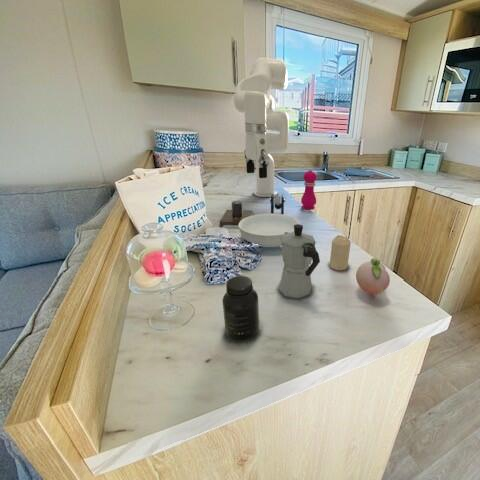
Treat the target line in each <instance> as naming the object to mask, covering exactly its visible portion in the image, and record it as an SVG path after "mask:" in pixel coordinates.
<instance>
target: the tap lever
mask: <svg viewBox="0 0 480 480" xmlns="http://www.w3.org/2000/svg"><path fill="white" fill-rule="evenodd" d="M274 209H276V210H281V196H278V195H276V196H274Z"/></svg>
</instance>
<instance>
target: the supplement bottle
mask: <svg viewBox="0 0 480 480" xmlns="http://www.w3.org/2000/svg"><path fill="white" fill-rule="evenodd" d="M225 286H226V292H225V293H224V294H223V297H222V310H223V311H222V312H223V317H224V318H223V319H224V320H223V321H224V329H225V334H226V335H227V337H228V338H230V339H231V340H233V341H237V342H243V341H247V340H250V339H251V338H253V337H255V336H256V334H257V333H258V332H259V329H260V310H259V309H260V308H259V294H258V292H257V291H256V290H255V289H254V285H253V280H252V278H250V277H249V276H246V275H237V276H234V277H231V278H229V279H228V280H227V281H226V285H225Z"/></svg>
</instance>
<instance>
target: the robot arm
mask: <svg viewBox="0 0 480 480" xmlns="http://www.w3.org/2000/svg"><path fill="white" fill-rule="evenodd" d="M249 74H250V75H249V76H247V77H245V78H243V79H242V80H240V81H239V82H238V83H237V85H236V87H235V91H234V96H233V103H234V107H235V109H236V110H237V111H238V112H239V113H243V114H244V132H245V149H244V151H243V153H244V158H245V163H246V173H247V174H254V173H255V180H256V182H255V183H256V190H254V191H253V195H254V196H255V197H260V198H271V194H274V197H275V196H278V192H277V191H276V190H275V160H274V158H273V157H272V156H271V154H281V155H282V154H284V155H285V154H287V153H288V151H289V146H290V145H289V144H290V143H289V141H290V139H289V138H290V137H289V136H290V120H289V115H288V113H287V112H285V111H283V110H275V99H274V97H273V96H272V94H271V93H270V90H279V91H284V90H286V89H287V87H288V83H289V82H288V81H289V78H288V68H287V65H286V63H285V62H284V60H282V59H278V58H277V59H276V58H268V57H258V58H256V59H255V60H254V62H253V64H252V69H251V70H250V73H249ZM267 131H270V132H267ZM273 132H278V133H273Z"/></svg>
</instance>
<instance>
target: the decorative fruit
mask: <svg viewBox="0 0 480 480" xmlns="http://www.w3.org/2000/svg"><path fill="white" fill-rule="evenodd" d="M355 280H356V283H357V285H358V287H359V288H360V290H362V291H364V292H365V293H366V294H368V295H379V294H381V293H383V292H384V291H386V290H387V289H388V287H389V286H390V282H391V278H390V274H389V272H388V270H387V269H386V266H385V265H384V264H383V263H381V261H380V259H378V258H375V257H371V259H370V260H368V261H366V262H363V263H361V264H360V265H359V266H358V267H357V270H356V274H355Z"/></svg>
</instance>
